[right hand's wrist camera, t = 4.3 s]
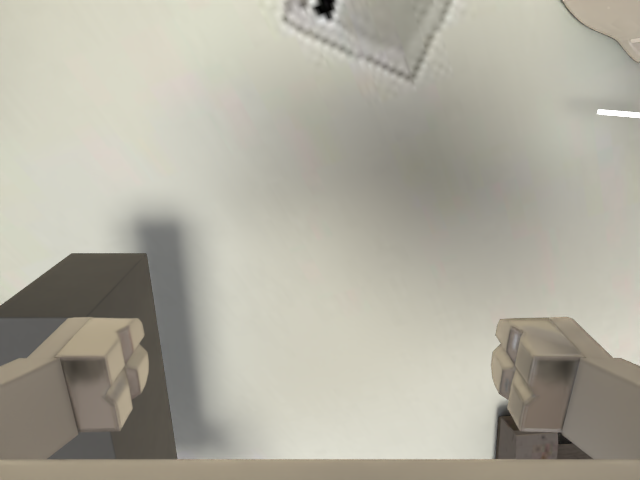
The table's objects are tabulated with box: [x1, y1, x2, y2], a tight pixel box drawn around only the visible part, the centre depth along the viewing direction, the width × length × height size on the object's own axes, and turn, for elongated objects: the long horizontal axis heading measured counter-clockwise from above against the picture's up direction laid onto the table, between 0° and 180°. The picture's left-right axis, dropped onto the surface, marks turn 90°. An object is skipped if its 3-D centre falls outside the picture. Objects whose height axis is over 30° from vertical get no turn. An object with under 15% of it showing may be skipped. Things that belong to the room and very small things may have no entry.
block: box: [0, 253, 177, 459], centre depth 33 cm, size 28×5×9 cm, turn 0°
